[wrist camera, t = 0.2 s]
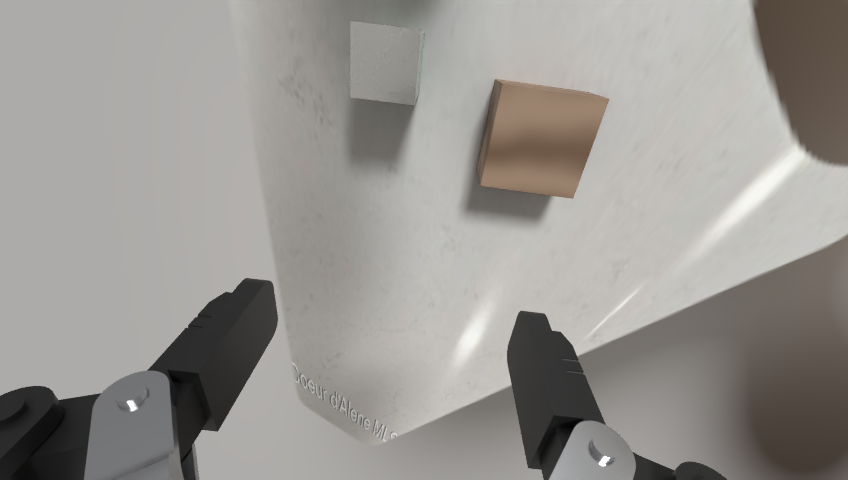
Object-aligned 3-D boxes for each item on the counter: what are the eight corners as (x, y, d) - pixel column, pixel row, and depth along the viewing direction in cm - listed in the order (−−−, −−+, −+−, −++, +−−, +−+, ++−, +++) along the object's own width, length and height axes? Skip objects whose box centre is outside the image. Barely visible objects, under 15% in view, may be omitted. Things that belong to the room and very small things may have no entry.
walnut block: (495, 78, 33) (502, 83, 29) (587, 92, 33) (609, 99, 29) (476, 169, 37) (480, 185, 33) (558, 180, 38) (573, 198, 33)
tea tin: (368, 25, 31) (350, 20, 25) (426, 32, 31) (421, 29, 25) (367, 87, 34) (349, 97, 28) (420, 94, 34) (414, 105, 28)
